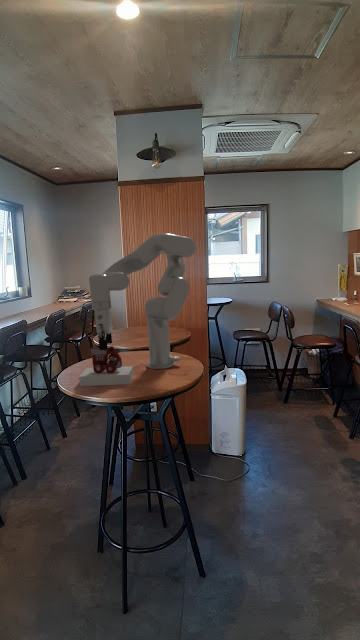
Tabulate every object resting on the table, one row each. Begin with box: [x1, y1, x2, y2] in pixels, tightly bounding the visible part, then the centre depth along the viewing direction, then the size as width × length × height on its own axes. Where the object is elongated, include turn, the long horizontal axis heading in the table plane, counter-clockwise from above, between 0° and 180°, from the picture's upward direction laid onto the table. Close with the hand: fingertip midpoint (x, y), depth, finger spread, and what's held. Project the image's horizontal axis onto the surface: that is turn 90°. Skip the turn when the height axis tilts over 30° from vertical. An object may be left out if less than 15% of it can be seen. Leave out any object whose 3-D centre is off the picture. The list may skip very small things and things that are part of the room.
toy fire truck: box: [90, 345, 123, 374], centre depth 152 cm, size 7×12×10 cm, turn 84°
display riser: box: [78, 365, 134, 387], centre depth 153 cm, size 20×11×4 cm, turn 90°
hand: (106, 346), depth 151 cm, fingers open, 9 cm apart
